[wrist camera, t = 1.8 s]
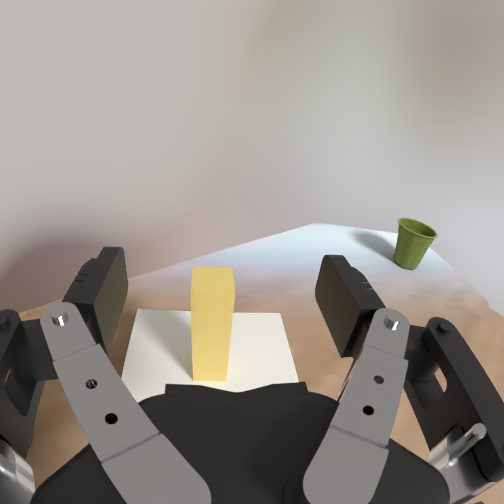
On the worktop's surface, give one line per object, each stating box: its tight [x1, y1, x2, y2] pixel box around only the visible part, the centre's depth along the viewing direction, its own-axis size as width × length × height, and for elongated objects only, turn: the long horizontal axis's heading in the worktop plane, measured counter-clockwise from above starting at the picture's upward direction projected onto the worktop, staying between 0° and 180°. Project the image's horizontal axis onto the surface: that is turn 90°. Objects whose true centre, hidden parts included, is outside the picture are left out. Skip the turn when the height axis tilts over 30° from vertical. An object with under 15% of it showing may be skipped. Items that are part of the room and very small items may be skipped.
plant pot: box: [394, 218, 437, 270], centre depth 74 cm, size 12×12×11 cm
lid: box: [121, 266, 299, 403], centre depth 29 cm, size 19×19×13 cm
